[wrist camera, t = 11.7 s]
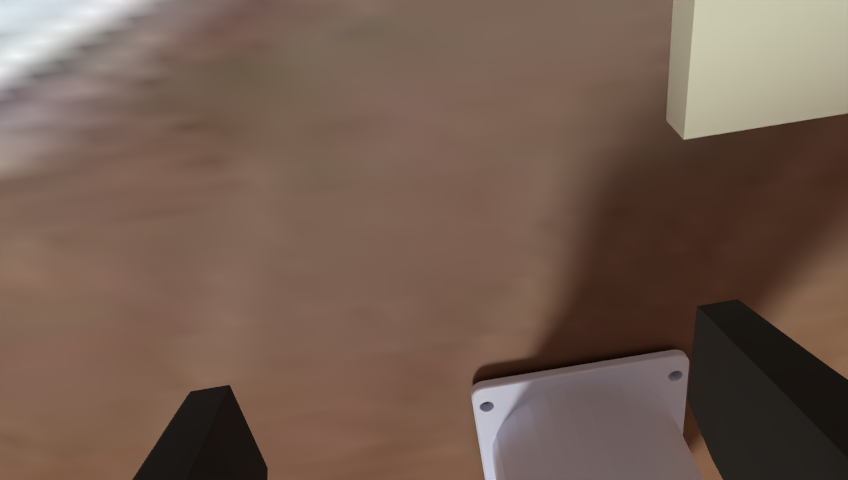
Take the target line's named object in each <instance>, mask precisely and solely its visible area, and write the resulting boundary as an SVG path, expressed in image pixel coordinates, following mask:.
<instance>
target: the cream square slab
mask: <svg viewBox="0 0 848 480" xmlns="http://www.w3.org/2000/svg"><path fill="white" fill-rule="evenodd" d="M847 113H848V0H673V14H672V30H671V47H670V63H669V80H668V96H667V112H666V121H667V122H668V123H669V124H670V125H671V126H672V127H673V128H674V130H675V131H676V132H677V133H678V134H679V135H680V136H681V137H682V138H683V140H686V139H692V138H698V137H704V136H711V135H717V134H723V133H729V132H735V131H741V130H748V129H754V128H760V127H766V126H772V125H779V124H785V123H791V122H797V121H803V120H810V119H816V118H822V117H828V116H834V115H840V114H847Z"/></svg>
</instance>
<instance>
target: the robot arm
mask: <svg viewBox="0 0 848 480" xmlns="http://www.w3.org/2000/svg"><path fill="white" fill-rule="evenodd" d="M674 371H675V372H674ZM672 372H674V373H672ZM688 372H689V359H688V358H687V356H686V354H685V353H684V352H683V351H681V350H668V351H662V352H656V353H650V354H643V355H637V356H631V357H625V358H619V359H613V360H607V361H601V362H595V363H588V364H582V365H576V366H570V367H564V368H558V369H552V370H546V371H540V372H534V373H527V374H521V375H515V376H509V377H503V378H497V379H491V380H485V381H480V382H478V383H476V384H475V385H473V387H472V388H471V397H472V403H473V409H474V415H475V422H476V428H477V434H478V440H479V446H480V452H481V458H482V464H483V470H484V476H485V480H704V478H703V476H702V474H701V472H700V470H699V468H698V466H697V464H696V462H695V460H694V458H693V456H692V454H691V452H690V450H689V448H688V446H687V444H686V442H685V439H684V437H683V428H684V417H685V406H686V394H687V383H688ZM688 401H689V403H690V406H691V408H692V411H693V413H694V416H695V418H696V421H697V423H698V426H699V429H700V431H701V434H702V436H703V438H704V441H705V443H706V445H707V448H708V450H709V453H710V455H711V457H712V460H713V462H714V463H715V465H716V467H717V469H718V471H719V473H720V475H721V476H722V478H723V480H848V380H847V379H846V378H844V377H843V376H842V375H840V374H839V373H837V372H836V371H835V370H833V369H832V368H830V367H829V366H828V365H826V364H825V363H823V362H822V361H821V360H819V359H818V358H817V357H815V356H814V355H812V354H811V353H810V352H808V351H807V350H806V349H804V348H803V347H801V346H800V345H799V344H797V343H796V342H795V341H793V340H792V339H791V338H789V337H788V336H787V335H785V334H784V333H782V332H781V331H780V330H778V329H777V328H776V327H774V326H773V325H772V324H770V323H769V322H768V321H766V320H765V319H764V318H762V317H761V316H760V315H758V314H757V313H756V312H754V311H753V310H751V309H750V308H749V307H747V306H746V305H745V304H743V303H742V302H740V301H739V300H738V299H737V300H731V301H725V302H719V303H713V304H708V305H702V306H697V313H696V323H695V333H694V342H693V352H692V362H691V371H690V381H689V391H688ZM484 402H489V403H486V404H482V403H484ZM132 480H267V466H266V464H265V462H264V459H263V457H262V455H261V453H260V451H259V448H258V446H257V444H256V442H255V440H254V438H253V435H252V433H251V431H250V429H249V427H248V424H247V422H246V420H245V418H244V416H243V413H242V411H241V409H240V407H239V405H238V403H237V400H236V398H235V396H234V394H233V392H232V389H231V387H230V385H227V386H221V387H215V388H209V389H203V390H197V391H191V392H190V393H189V395H188V396H187V397H186V399H185V400H184V402H183V403H182V405H181V406H180V408H179V409H178V411H177V412H176V414H175V415H174V417H173V418H172V420H171V422H170V423H169V425H168V426H167V428H166V429H165V431H164V432H163V434H162V435H161V437H160V438H159V440H158V442H157V443H156V445H155V446H154V448H153V449H152V451H151V452H150V454H149V455H148V457H147V458H146V460H145V461H144V463H143V464H142V466H141V467H140V469H139V471H138V472H137V474H136V475H135V477H134V478H133V479H132Z"/></svg>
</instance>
